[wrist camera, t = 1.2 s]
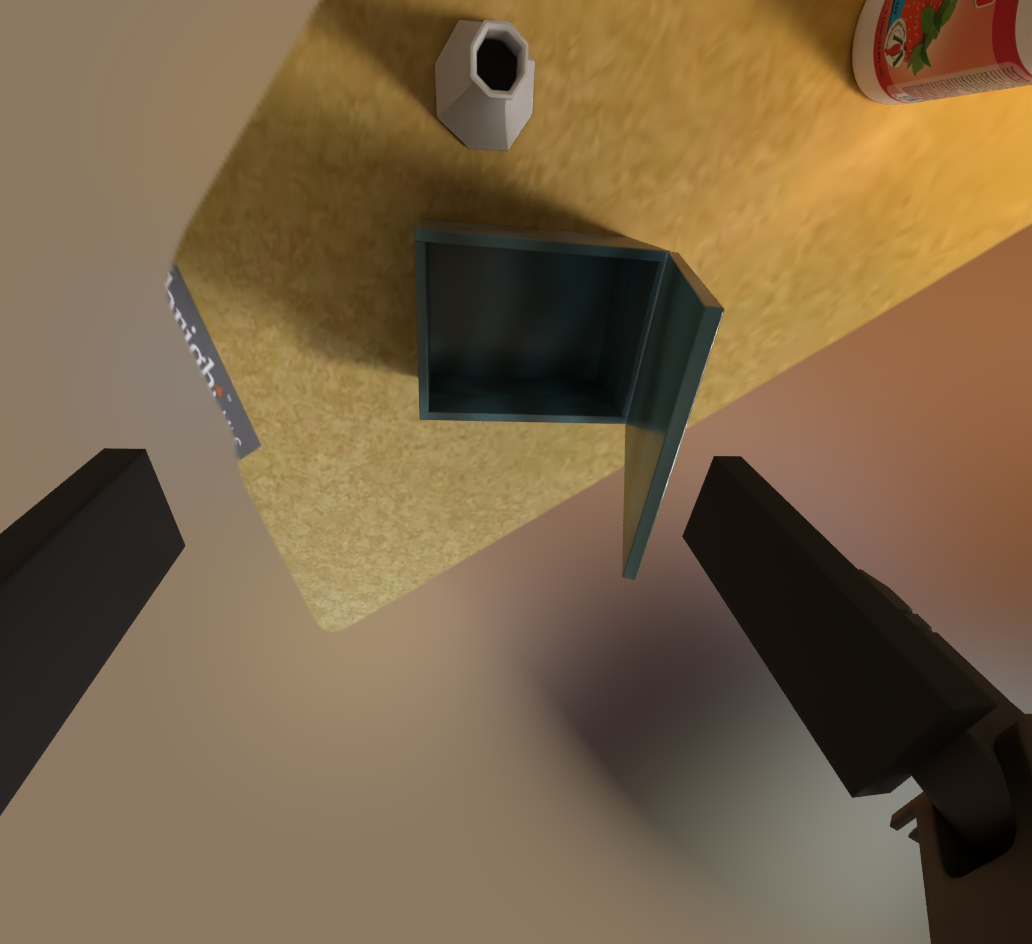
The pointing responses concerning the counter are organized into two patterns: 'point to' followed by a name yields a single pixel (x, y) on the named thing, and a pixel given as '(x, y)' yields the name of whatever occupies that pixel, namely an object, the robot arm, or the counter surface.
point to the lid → (664, 398)
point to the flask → (485, 84)
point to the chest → (530, 322)
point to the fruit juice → (941, 48)
